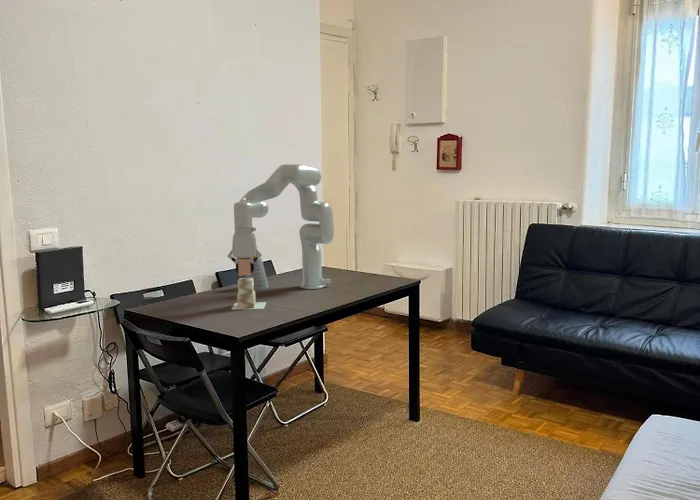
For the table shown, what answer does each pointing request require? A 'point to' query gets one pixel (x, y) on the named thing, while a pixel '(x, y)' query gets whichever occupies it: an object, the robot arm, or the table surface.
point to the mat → (257, 306)
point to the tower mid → (245, 286)
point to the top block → (244, 266)
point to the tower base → (246, 300)
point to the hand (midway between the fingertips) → (245, 272)
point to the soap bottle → (258, 275)
